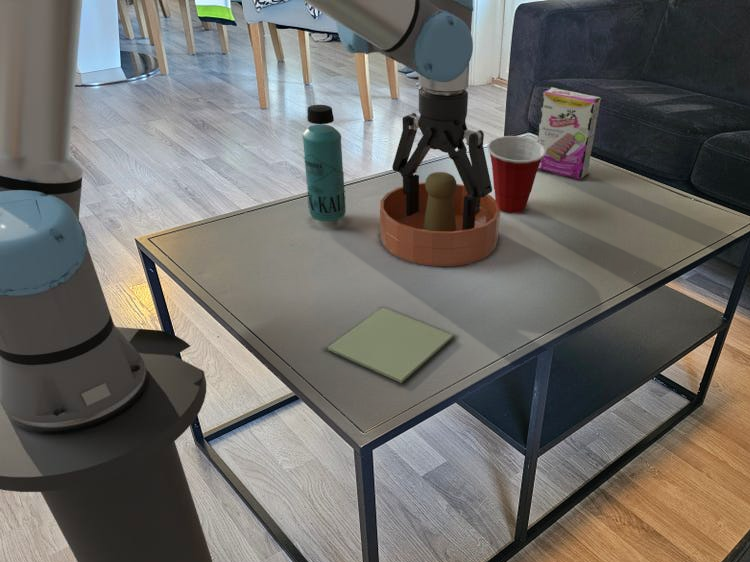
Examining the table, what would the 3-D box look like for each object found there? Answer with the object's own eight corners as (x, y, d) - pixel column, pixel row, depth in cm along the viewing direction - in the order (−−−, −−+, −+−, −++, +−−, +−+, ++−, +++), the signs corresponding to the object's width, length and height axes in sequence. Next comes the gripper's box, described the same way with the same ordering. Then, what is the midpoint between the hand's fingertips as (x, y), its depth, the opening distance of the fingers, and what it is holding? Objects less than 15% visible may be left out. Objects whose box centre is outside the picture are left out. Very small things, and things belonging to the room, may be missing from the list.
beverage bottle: (316, 211, 118) (306, 98, 106) (352, 216, 118) (345, 102, 105) (304, 227, 113) (291, 110, 101) (341, 232, 113) (332, 114, 100)
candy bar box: (532, 170, 141) (541, 91, 131) (540, 163, 145) (550, 86, 135) (581, 181, 138) (594, 101, 128) (588, 174, 141) (601, 96, 131)
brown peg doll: (454, 227, 116) (457, 168, 109) (458, 243, 111) (461, 182, 104) (421, 227, 115) (421, 167, 108) (423, 243, 110) (424, 182, 103)
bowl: (357, 242, 110) (355, 209, 106) (424, 203, 124) (424, 173, 120) (457, 279, 102) (459, 245, 99) (517, 232, 117) (520, 201, 113)
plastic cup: (481, 217, 121) (486, 154, 113) (483, 193, 129) (488, 133, 122) (539, 221, 121) (547, 159, 114) (538, 198, 129) (545, 138, 122)
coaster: (327, 350, 86) (327, 347, 85) (383, 309, 94) (383, 307, 94) (401, 383, 81) (401, 380, 81) (452, 337, 90) (452, 335, 89)
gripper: (522, 98, 96) (509, 233, 110) (396, 69, 105) (398, 197, 118) (498, 110, 91) (487, 249, 105) (367, 78, 100) (372, 211, 113)
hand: (439, 222), depth 111 cm, fingers open, 11 cm apart
